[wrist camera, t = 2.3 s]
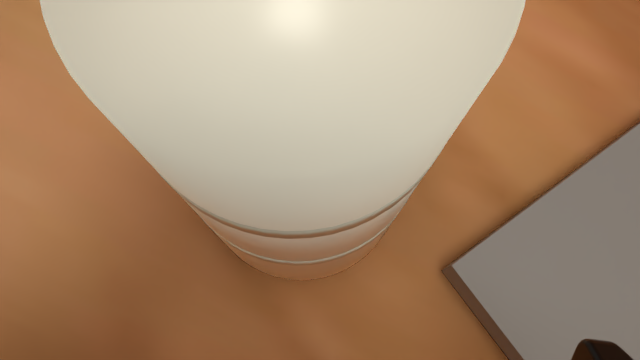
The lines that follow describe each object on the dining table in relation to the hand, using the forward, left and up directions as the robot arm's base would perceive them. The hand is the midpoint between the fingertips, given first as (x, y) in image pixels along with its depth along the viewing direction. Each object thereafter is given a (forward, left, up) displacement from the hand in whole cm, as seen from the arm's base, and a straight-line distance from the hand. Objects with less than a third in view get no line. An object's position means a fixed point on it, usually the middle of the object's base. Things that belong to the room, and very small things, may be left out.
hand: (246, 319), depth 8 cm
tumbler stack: (+4, -3, -11) cm, 12 cm away
